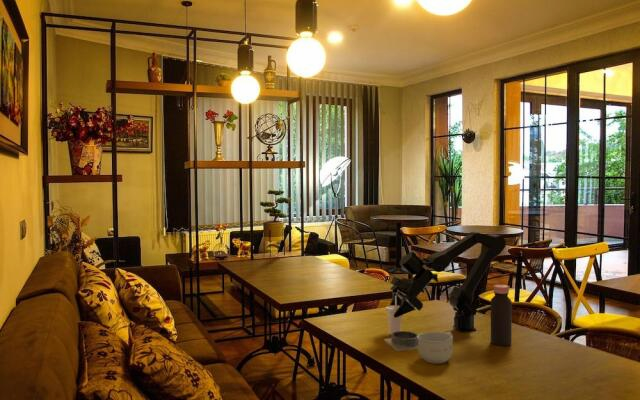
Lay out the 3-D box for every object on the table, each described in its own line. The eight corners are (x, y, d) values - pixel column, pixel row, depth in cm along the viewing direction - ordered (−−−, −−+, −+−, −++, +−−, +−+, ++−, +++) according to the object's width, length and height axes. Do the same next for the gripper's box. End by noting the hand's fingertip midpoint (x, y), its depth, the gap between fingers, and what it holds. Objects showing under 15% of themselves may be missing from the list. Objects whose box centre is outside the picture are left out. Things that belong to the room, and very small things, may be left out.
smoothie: (398, 337, 179) (398, 298, 178) (383, 334, 183) (382, 296, 182) (406, 332, 184) (406, 295, 183) (391, 329, 188) (391, 292, 187)
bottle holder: (412, 338, 179) (412, 329, 179) (427, 347, 169) (427, 338, 168) (384, 341, 176) (384, 332, 176) (397, 351, 165) (397, 341, 165)
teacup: (432, 369, 150) (432, 343, 150) (410, 358, 159) (410, 333, 159) (467, 361, 156) (467, 335, 156) (443, 350, 166) (443, 326, 166)
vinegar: (514, 342, 173) (514, 285, 172) (506, 347, 168) (506, 289, 167) (495, 338, 177) (495, 283, 176) (487, 343, 172) (487, 286, 171)
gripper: (395, 264, 192) (368, 294, 190) (414, 273, 174) (384, 306, 172) (414, 282, 194) (388, 313, 192) (435, 293, 176) (406, 327, 174)
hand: (391, 314), depth 182 cm, fingers closed on smoothie, 6 cm apart
